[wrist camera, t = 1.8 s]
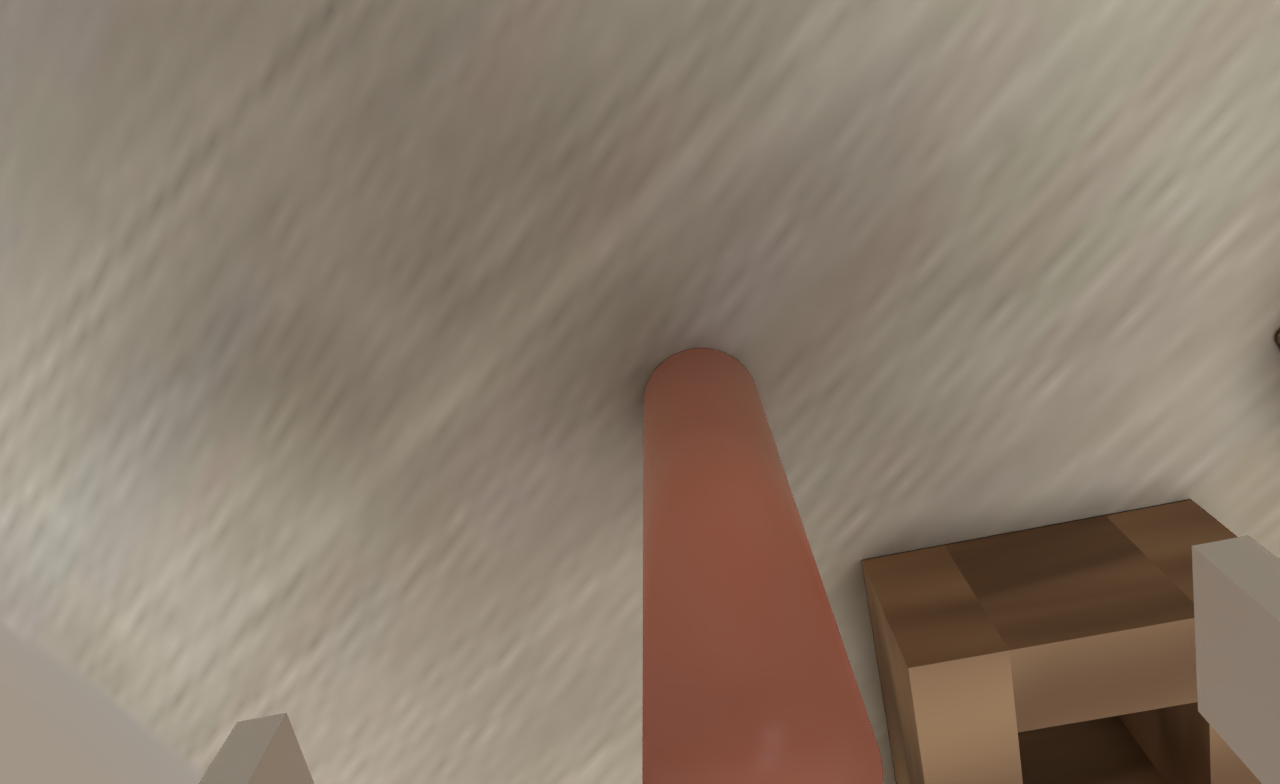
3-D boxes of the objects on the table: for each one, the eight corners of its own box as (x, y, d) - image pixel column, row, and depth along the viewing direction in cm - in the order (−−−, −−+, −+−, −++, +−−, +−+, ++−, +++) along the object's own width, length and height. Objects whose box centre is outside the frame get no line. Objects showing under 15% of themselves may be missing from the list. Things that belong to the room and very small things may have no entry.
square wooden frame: (861, 560, 27) (908, 668, 22) (1191, 499, 26) (1312, 597, 21) (901, 814, 30) (949, 957, 25) (1199, 765, 29) (1306, 902, 24)
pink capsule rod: (632, 361, 25) (619, 704, 12) (747, 337, 25) (865, 660, 11) (656, 465, 26) (668, 891, 13) (766, 443, 26) (896, 854, 12)
